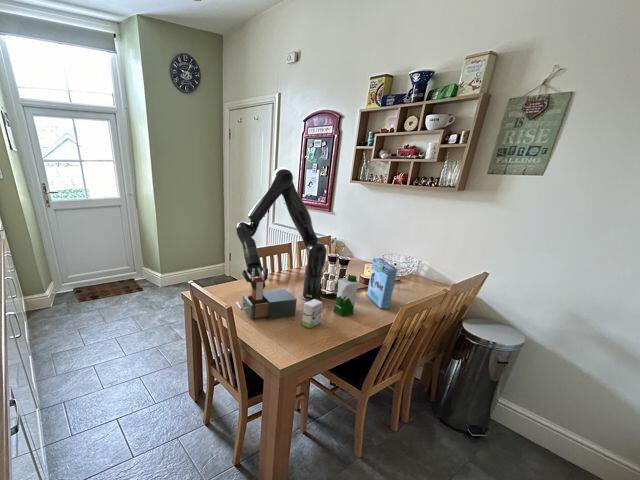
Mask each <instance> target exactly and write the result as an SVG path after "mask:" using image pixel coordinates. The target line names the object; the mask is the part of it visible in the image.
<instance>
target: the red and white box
mask: <svg viewBox="0 0 640 480" xmlns="http://www.w3.org/2000/svg"><path fill="white" fill-rule="evenodd" d="M254 282H255V286H256V289H255V290H253V289H252V288H251V295H252V297H253V298H254V300H263V291H264V289H263V285H264V282H265V281H263V280H262V279H261V278H258V277H254Z"/></svg>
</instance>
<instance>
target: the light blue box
mask: <svg viewBox="0 0 640 480" xmlns="http://www.w3.org/2000/svg"><path fill="white" fill-rule="evenodd" d="M397 272H398V269H397V268H396V267H394V266H393V265H391V263H389V262H387V261H386V260H384V259H383V258H381V257H375V258H374V257H373V259H372V265H371V272H370V276H369V281H368V286H367V287H368V288H367V292H366V296H367V297H368V298H369V299H370V300H371V301H373V303H374V304H375V305H376V306H377V307H378V308H379V309H380V310H389V309H390V305H391V301H392V296H393V292H394V287H395V283H396V282H395V280H396V279H397V278H396V277H397Z"/></svg>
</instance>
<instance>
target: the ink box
mask: <svg viewBox="0 0 640 480" xmlns="http://www.w3.org/2000/svg"><path fill="white" fill-rule="evenodd" d="M322 310H323V301H320V300H316V299H313V300H311V301H307V302H304V304H303V312H302V323H301V326H303V327H306V328H307V329H311V328H313V327H315V326H317V325H319V324H320V323H321V317H322Z"/></svg>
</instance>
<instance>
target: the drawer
mask: <svg viewBox="0 0 640 480" xmlns="http://www.w3.org/2000/svg"><path fill="white" fill-rule="evenodd" d="M235 305H236V306H237V307H238V309H239V310H240V311H241V312H242V311H244V312H245V314H246V316H247V317H248V318H249V319H250V321H252V320H254V319H259V318H267V317H266V316H268V314H269V302H268V301H267V300H266V299H265V298H264V297H263V300H254V298H253V297H252V294H251V295H248V296H247V295H246V294H243V295H242V302H239V301H237V302H236V304H235Z"/></svg>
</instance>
